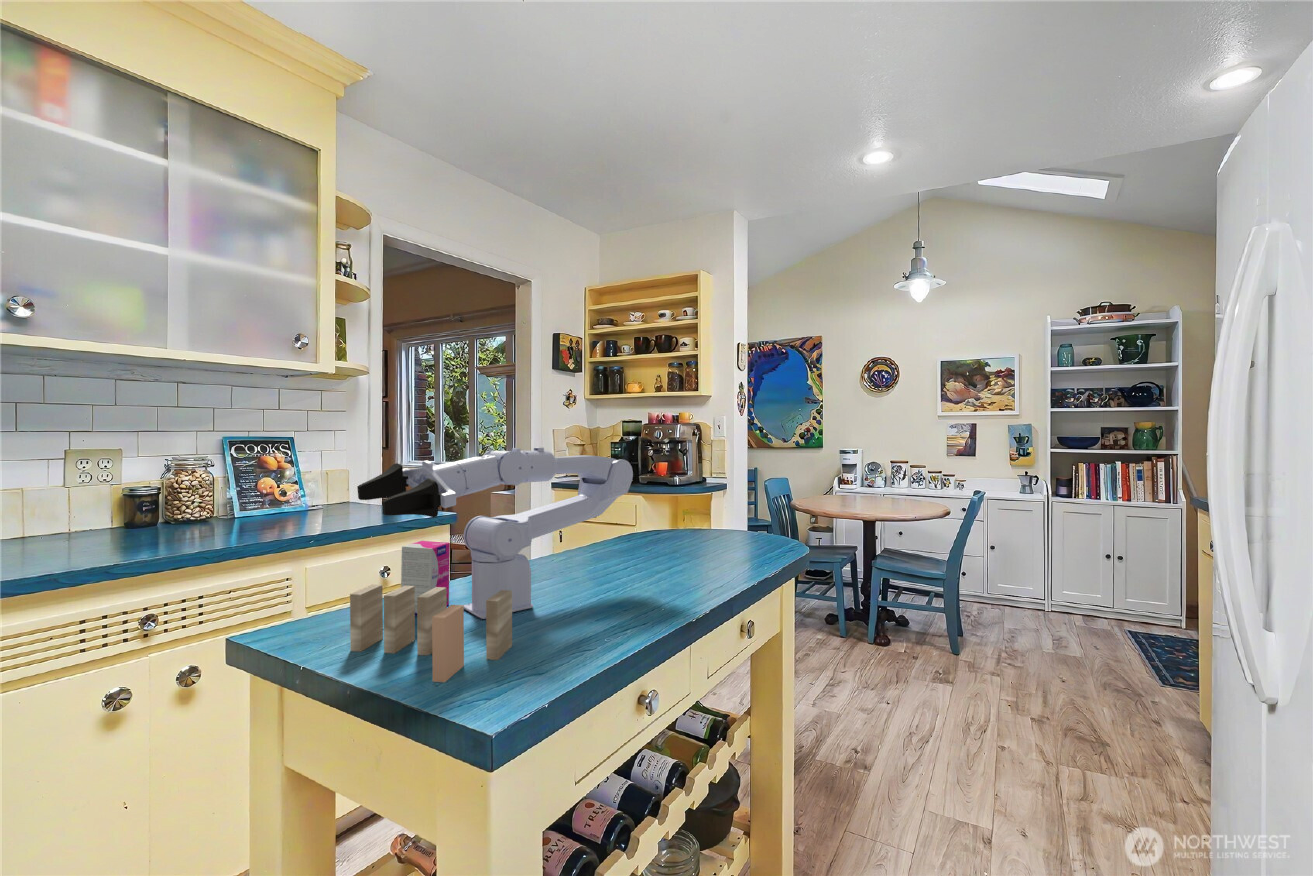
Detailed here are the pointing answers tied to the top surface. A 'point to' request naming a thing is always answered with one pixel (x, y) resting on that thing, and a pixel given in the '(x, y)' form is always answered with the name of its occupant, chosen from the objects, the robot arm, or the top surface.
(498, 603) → the domino
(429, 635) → the domino
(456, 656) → the domino
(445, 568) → the supplement box
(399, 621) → the domino
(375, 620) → the domino
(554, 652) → the top surface
